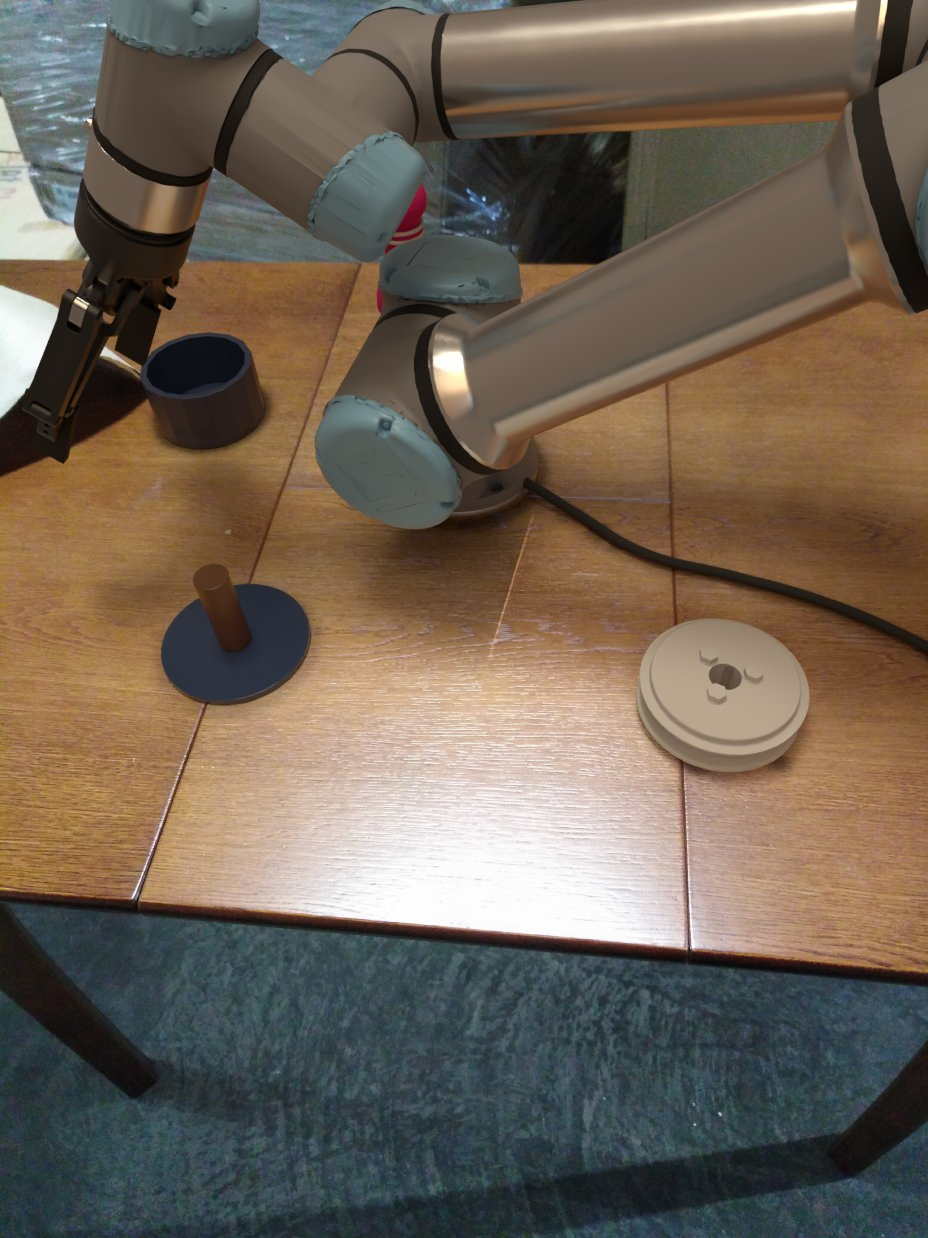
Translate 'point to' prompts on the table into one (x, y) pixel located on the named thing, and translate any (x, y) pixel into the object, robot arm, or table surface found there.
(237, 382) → the bowl
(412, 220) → the pepper mill
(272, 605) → the bowl lid
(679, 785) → the table surface
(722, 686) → the beige round base
